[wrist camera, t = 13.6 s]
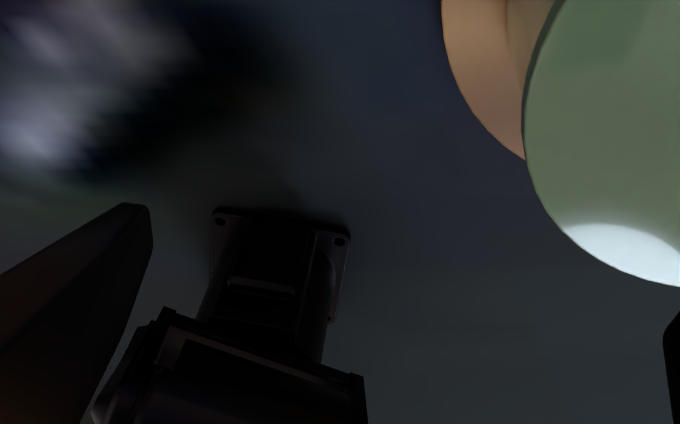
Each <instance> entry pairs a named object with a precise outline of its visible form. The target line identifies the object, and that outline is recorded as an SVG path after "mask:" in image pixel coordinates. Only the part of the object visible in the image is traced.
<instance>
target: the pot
mask: <svg viewBox="0 0 680 424" xmlns="http://www.w3.org/2000/svg"><path fill="white" fill-rule="evenodd" d="M507 34H508V41H509V48H510V53H511V56H512V60H513V64H514V68H515V72H516V75H517V79H518V83H519V87H520V90H521V94H522V101H521V135H522V142H523V148H524V155H525V160H526V164H527V168H528V171H529V174H530V177H531V180H532V183H533V186H534V189H535V192H536V193H537V195H538V197H539V199H540V201H541V203H542V205H543V207H544V208H545V210H546V212H547V213H548V214H549V216H550V217H551V218H552V220H553V221H554V222H555V223H556V225H557V226H558V227H559V229H560V230H561V231H562V232H563V233H564V234H566V235H567V236H568V237H569V238H570V239H571V240H572V241H573V242H574V243H575V244H576V245H577V246H579V247H580V248H581V249H583V250H584V251H586V252H587V253H589V254H590V255H592V256H593V257H595V258H596V259H598V260H599V261H601V262H603V263H605V264H607V265H609V266H611V267H613V268H615V269H617V270H619V271H622V272H624V273H627V274H630V275H633V276H636V277H638V278H641V279H644V280H648V281H652V282H656V283H661V284H665V285H669V286H675V287H680V0H508V1H507Z"/></svg>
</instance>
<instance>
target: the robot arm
mask: <svg viewBox="0 0 680 424" xmlns="http://www.w3.org/2000/svg"><path fill="white" fill-rule="evenodd" d="M219 217H221V218H224V219H225V220H221V219H220V218H219ZM210 236H211V269H212V278H211V280H210V283H209V285H208V288H207V291H206V293H205V296H204V298H203V301H202V303H201V306H200V308H199V311H198V313H197V316H196V319H192V318H189V317H186V316H183V315H181V314H178V313H176V310H173V309H171V308H168V307H165V306H163V308H162V310H161V312H160V314H159V316H158V318H157V320H156V321H154V320H151V321H150V323H149V325H146V326H141V327H137V329H136V331H135V333H134V335H133V337H132V339H131V341H130V344H129V346H128V348H127V350H126V352H125V354H124V356H123V358H122V359H121V361H120V363H119V365H118V366H117V368H116V369H115V371H114V372H113V374H112V375H111V377H110V378H109V380H108V382H107V383H106V385H105V386H104V388H103V389H102V391H101V392H100V394H99V395H98V397H97V399H96V401H95V403H94V405H93V408H92V410H91V415H92V418H93V420H94V423H95V424H368V417H367V407H366V398H365V388H364V379H363V376H360V375H358V374H355V373H352V372H350V373H349V374H348V373H345V372H342V371H340V370H337V369H334V368H331V367H328V366H325V365H323V364H321V359H322V353H323V347H324V341H325V335H326V329H327V324H332V323H333V322H335V320H336V315H337V309H338V304H339V299H340V293H341V288H342V283H343V277H344V272H345V267H346V261H347V256H348V251H349V245H350V239H351V235H350V233H349V232H348V231H347V230H346V229H343V228H338V227H332V226H327V225H321V224H315V223H309V222H303V221H297V220H291V219H286V218H280V217H274V216H268V215H262V214H256V213H250V212H244V211H239V210H233V209H227V208H217V209H215V210H214V211H213V213H212V215H211V218H210ZM336 238H342V239H343V240H338V239H336ZM152 249H153V237H152V228H151V220H150V212H149V210H148V208H147V207H146V206H145V205H140V204H134V203H128V202H122V203H119V204H118V205H116V206H114V207H113V208H111V209H109V210H108V211H106V212H104V213H103V214H101V215H99V216H98V217H96V218H94V219H93V220H91V221H89V222H88V223H86V224H84V225H82V226H81V227H79V228H77V229H76V230H74V231H72V232H71V233H69V234H67V235H66V236H64V237H62V238H61V239H59V240H57V241H56V242H54V243H52V244H51V245H49V246H47V247H46V248H44V249H42V250H41V251H39V252H37V253H36V254H34V255H32V256H31V257H29V258H27V259H26V260H24V261H22V262H21V263H19V264H17V265H16V266H14V267H12V268H11V269H9V270H7V271H6V272H4V273H2V274H1V275H0V424H79V423H80V421H81V419H82V417H83V415H84V413H85V411H86V409H87V407H88V405H89V403H90V401H91V399H92V397H93V395H94V392H95V390H96V388H97V386H98V384H99V382H100V380H101V378H102V376H103V374H104V372H105V370H106V368H107V366H108V364H109V362H110V360H111V358H112V356H113V354H114V352H115V350H116V348H117V346H118V344H119V342H120V339H121V337H122V335H123V333H124V330H125V328H126V325H127V322H128V320H129V317H130V314H131V311H132V308H133V305H134V303H135V300H136V297H137V294H138V291H139V288H140V286H141V283H142V280H143V277H144V274H145V271H146V268H147V266H148V263H149V260H150V257H151V254H152ZM663 350H664V358H665V365H666V373H667V380H668V388H669V395H670V402H671V410H672V417H673V422H674V424H680V311H679V313H678V314H677V315H676V316H675V318H674V319H673V320H672V321H671V323H670V324H669V325H668V327H667V328H666V330H665V332H664V335H663Z"/></svg>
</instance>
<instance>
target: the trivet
mask: <svg viewBox="0 0 680 424" xmlns="http://www.w3.org/2000/svg"><path fill="white" fill-rule="evenodd" d="M440 1H441V16H442V26H443V37H444V43H445V47H446V52H447V56H448V60H449V64H450V68H451V70H452V73H453V75H454V78H455V80H456V83H457V85H458V88H459V90H460V92H461V94H462V95H463V97H464V99H465V100H466V102H467V104H468V106H469V107H470V109H471V111H472V112H473V113H474V115H475V116H476V117H477V118H478V120H479V121H480V122H481V123H482V125H483V126H484V127H485V128H486V129H487V131H488V132H490V133H491V134H492V135H493V136H494V137H495V138H496V139H497V140H498V141H499V142H500V143H501V144H503V145H504V146H505V147H506V148H508V149H509V150H511V151H512V152H514V153H515V154H516V155H518V156H519V157H521V158H522V159H524V160H525V155H524V148H523V142H522V135H521V101H522V94H521V90H520V87H519V83H518V79H517V75H516V72H515V68H514V64H513V60H512V56H511V53H510V48H509V41H508V34H507V1H508V0H440ZM525 161H526V160H525Z"/></svg>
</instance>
